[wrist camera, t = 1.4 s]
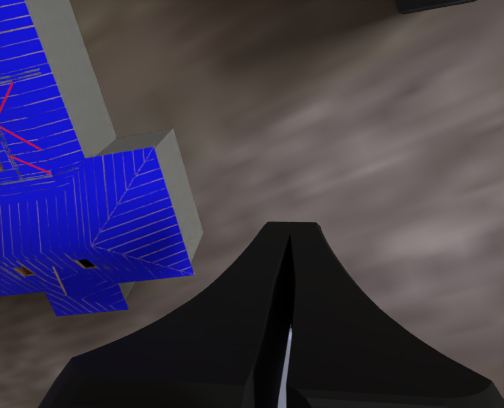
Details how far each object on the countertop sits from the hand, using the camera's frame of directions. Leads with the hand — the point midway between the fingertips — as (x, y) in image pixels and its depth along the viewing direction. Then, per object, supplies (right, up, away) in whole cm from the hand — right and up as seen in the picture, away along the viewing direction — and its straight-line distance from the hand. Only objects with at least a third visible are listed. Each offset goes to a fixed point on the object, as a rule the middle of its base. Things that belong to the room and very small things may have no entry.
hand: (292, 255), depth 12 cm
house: (-10, +4, +10) cm, 15 cm away
